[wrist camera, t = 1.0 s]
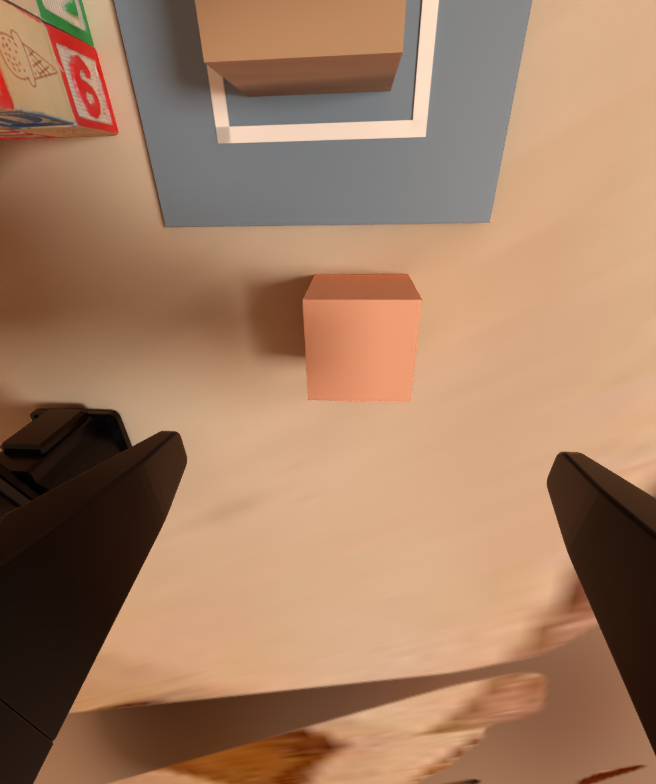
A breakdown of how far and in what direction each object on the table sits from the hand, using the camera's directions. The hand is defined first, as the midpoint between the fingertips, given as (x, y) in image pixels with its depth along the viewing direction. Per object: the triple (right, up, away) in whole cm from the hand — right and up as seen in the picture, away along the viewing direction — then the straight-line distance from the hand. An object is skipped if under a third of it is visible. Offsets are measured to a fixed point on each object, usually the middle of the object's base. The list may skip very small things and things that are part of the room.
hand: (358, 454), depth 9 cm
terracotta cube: (+1, +6, +12) cm, 13 cm away
